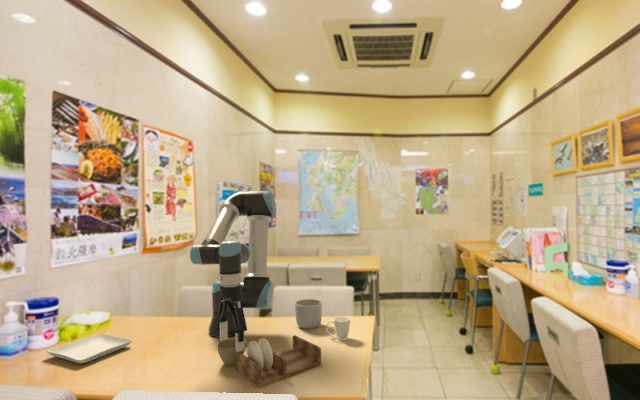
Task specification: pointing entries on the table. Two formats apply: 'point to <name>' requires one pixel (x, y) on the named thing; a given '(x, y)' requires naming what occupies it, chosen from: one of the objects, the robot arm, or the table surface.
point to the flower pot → (228, 351)
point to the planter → (308, 313)
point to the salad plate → (90, 348)
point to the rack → (281, 363)
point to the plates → (261, 353)
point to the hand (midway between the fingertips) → (231, 345)
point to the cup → (340, 327)
